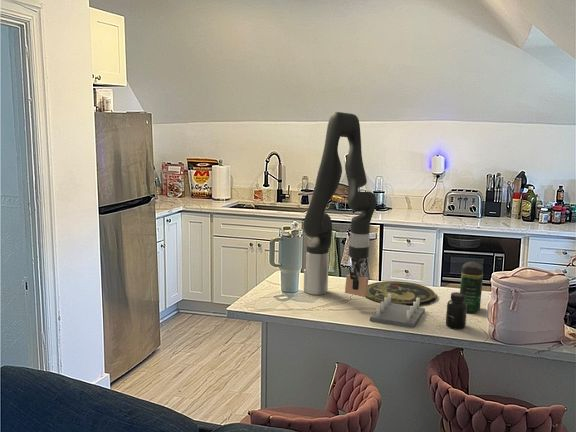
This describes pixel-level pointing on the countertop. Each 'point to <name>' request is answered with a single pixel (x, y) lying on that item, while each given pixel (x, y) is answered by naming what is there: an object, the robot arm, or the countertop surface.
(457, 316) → the supplement bottle
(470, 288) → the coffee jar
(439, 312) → the countertop surface
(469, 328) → the countertop surface
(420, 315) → the dish rack
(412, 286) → the decorative plate
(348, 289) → the tile
